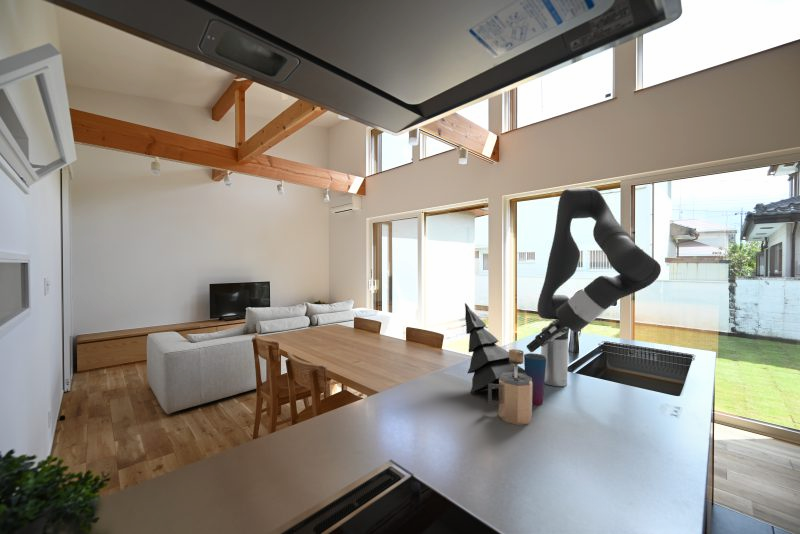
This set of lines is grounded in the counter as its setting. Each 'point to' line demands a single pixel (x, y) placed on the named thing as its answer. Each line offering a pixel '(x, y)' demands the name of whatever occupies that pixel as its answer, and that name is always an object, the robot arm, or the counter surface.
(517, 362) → the plunger
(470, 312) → the decorative tree
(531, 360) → the cup
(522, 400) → the press pot
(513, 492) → the counter surface
